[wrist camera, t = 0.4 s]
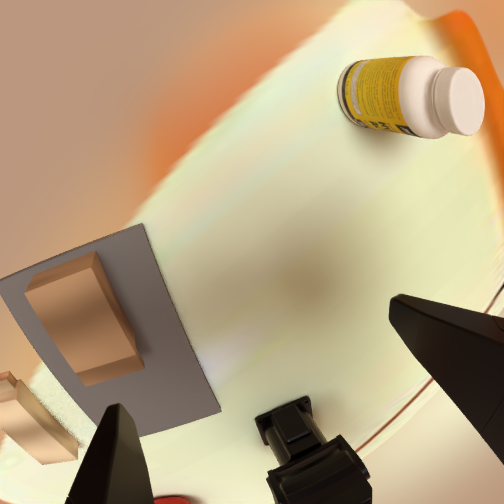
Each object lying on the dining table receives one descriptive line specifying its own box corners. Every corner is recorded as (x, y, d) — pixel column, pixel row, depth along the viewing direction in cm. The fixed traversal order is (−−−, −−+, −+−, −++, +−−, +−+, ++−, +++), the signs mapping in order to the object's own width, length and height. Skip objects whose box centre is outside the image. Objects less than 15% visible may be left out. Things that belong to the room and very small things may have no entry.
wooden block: (142, 347, 23) (144, 368, 21) (87, 364, 22) (85, 386, 20) (95, 250, 19) (91, 267, 17) (33, 274, 18) (24, 293, 16)
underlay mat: (220, 408, 29) (221, 411, 29) (113, 439, 27) (114, 443, 26) (141, 223, 20) (141, 225, 20) (-4, 280, 18) (-6, 283, 17)
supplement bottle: (339, 130, 22) (443, 151, 14) (331, 60, 20) (436, 47, 11) (391, 125, 23) (490, 145, 15) (385, 62, 21) (487, 61, 13)
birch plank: (77, 440, 26) (77, 459, 24) (43, 446, 25) (42, 464, 22) (13, 369, 20) (7, 389, 18) (-22, 379, 19) (-28, 398, 17)
